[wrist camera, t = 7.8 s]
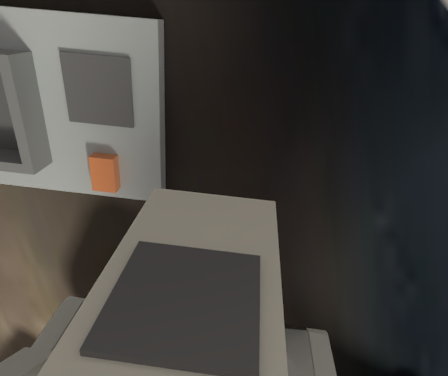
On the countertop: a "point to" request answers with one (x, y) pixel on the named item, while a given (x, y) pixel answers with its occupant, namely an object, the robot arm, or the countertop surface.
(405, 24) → the countertop surface
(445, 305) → the countertop surface
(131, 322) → the plug
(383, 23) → the countertop surface
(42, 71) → the grey board with tray
